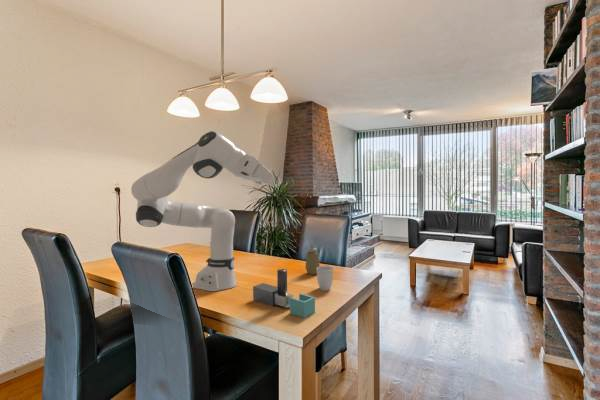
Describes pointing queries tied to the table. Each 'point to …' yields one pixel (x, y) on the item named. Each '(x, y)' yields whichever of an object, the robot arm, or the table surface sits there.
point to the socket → (302, 305)
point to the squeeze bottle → (312, 260)
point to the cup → (325, 277)
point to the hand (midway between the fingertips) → (266, 184)
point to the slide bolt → (282, 290)
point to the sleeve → (264, 293)
